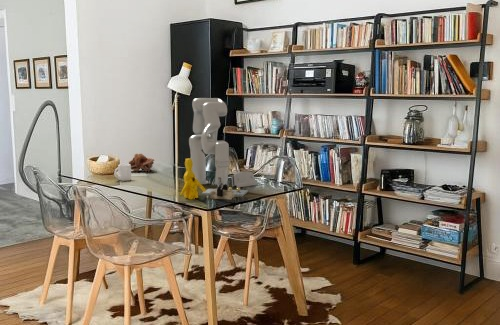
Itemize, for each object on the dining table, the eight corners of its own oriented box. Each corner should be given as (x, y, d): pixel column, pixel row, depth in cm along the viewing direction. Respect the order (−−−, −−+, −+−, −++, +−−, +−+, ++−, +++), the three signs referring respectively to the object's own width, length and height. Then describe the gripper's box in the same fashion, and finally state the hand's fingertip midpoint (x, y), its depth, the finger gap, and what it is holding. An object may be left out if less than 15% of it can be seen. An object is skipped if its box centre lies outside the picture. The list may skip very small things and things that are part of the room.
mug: (117, 182, 343) (117, 166, 342) (111, 180, 349) (110, 165, 348) (133, 179, 351) (133, 164, 350) (127, 178, 357) (126, 163, 356)
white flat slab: (202, 194, 300) (201, 192, 300) (208, 190, 312) (208, 188, 312) (242, 196, 295) (242, 194, 294) (247, 192, 307) (247, 190, 307)
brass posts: (227, 191, 302) (227, 187, 302) (228, 191, 304) (228, 187, 304) (239, 192, 300) (239, 188, 300) (240, 191, 302) (240, 187, 302)
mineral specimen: (130, 175, 399) (127, 155, 399) (156, 170, 403) (152, 151, 402) (129, 175, 378) (125, 155, 378) (156, 170, 382) (152, 150, 381)
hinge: (236, 187, 323) (233, 171, 324) (232, 189, 326) (229, 173, 328) (257, 184, 333) (254, 169, 334) (253, 186, 337) (250, 171, 338)
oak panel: (210, 198, 289) (210, 191, 288) (213, 196, 295) (213, 189, 294) (231, 199, 286) (231, 192, 286) (234, 197, 292) (234, 190, 292)
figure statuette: (182, 201, 281) (181, 161, 279) (174, 199, 287) (173, 159, 284) (208, 196, 293) (207, 158, 291) (199, 195, 299) (199, 157, 296)
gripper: (219, 162, 297) (220, 191, 299) (210, 166, 280) (211, 197, 283) (232, 162, 295) (232, 192, 298) (224, 166, 279) (224, 197, 281)
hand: (222, 194), depth 290 cm, fingers open, 9 cm apart
